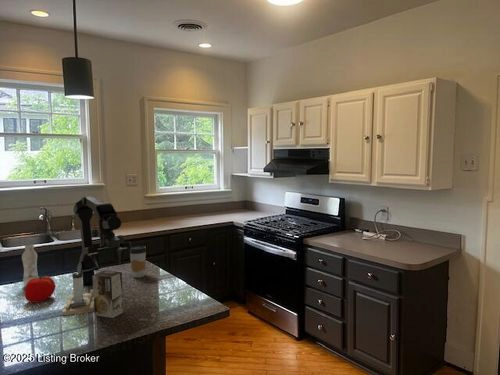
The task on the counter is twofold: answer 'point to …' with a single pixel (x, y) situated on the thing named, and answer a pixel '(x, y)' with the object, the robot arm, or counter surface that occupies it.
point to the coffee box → (108, 294)
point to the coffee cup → (138, 261)
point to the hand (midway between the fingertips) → (110, 267)
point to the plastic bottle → (29, 263)
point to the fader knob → (78, 290)
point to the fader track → (79, 309)
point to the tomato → (39, 289)
